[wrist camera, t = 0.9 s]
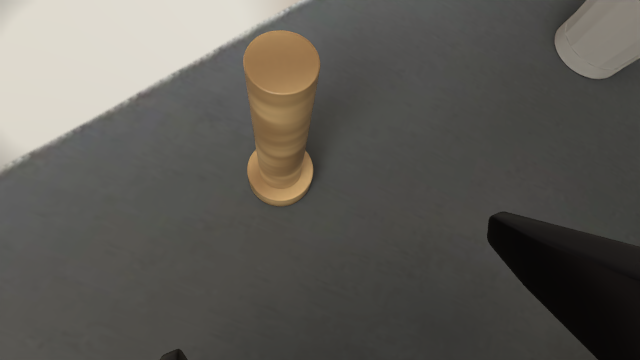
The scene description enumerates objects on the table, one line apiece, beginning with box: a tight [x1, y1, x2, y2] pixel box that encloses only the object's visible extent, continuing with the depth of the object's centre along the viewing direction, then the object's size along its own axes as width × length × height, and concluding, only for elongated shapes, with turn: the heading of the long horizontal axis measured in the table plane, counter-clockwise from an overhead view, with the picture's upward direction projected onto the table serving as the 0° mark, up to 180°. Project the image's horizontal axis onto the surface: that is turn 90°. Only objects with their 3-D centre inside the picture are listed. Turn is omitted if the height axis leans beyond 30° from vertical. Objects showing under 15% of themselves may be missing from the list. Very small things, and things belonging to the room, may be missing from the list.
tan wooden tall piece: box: [243, 30, 320, 206], centre depth 19 cm, size 4×4×13 cm
